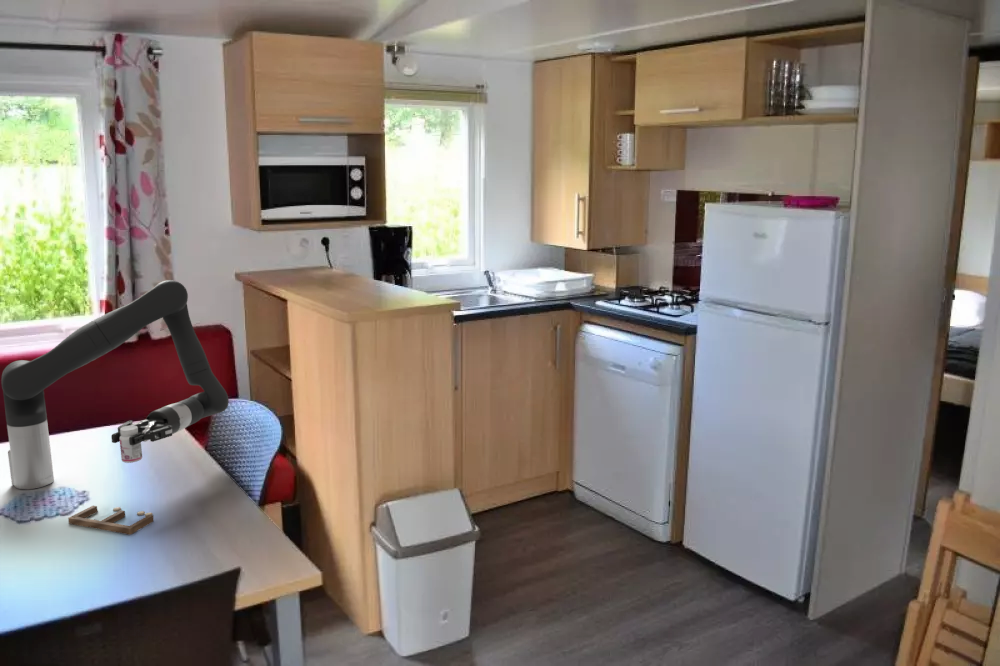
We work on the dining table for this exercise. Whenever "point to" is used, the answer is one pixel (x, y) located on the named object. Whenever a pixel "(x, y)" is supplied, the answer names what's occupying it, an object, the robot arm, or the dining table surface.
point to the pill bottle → (129, 451)
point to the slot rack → (110, 521)
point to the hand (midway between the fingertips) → (121, 440)
